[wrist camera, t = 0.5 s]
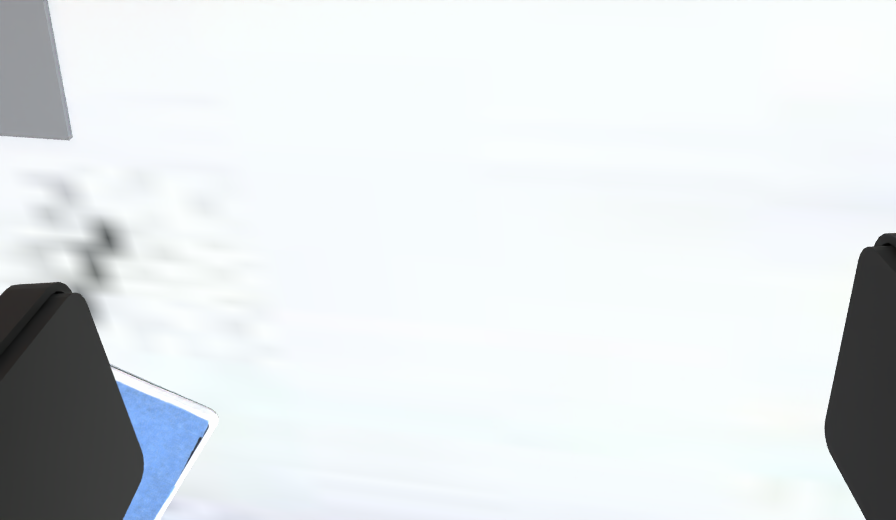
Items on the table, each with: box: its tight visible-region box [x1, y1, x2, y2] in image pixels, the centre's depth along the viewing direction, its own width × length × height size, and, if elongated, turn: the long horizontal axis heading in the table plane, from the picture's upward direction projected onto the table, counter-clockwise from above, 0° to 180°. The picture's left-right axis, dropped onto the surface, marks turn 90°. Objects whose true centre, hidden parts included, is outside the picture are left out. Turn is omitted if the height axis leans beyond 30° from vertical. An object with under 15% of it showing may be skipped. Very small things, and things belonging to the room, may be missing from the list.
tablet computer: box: [110, 366, 219, 520], centre depth 51 cm, size 19×13×1 cm, turn 59°
